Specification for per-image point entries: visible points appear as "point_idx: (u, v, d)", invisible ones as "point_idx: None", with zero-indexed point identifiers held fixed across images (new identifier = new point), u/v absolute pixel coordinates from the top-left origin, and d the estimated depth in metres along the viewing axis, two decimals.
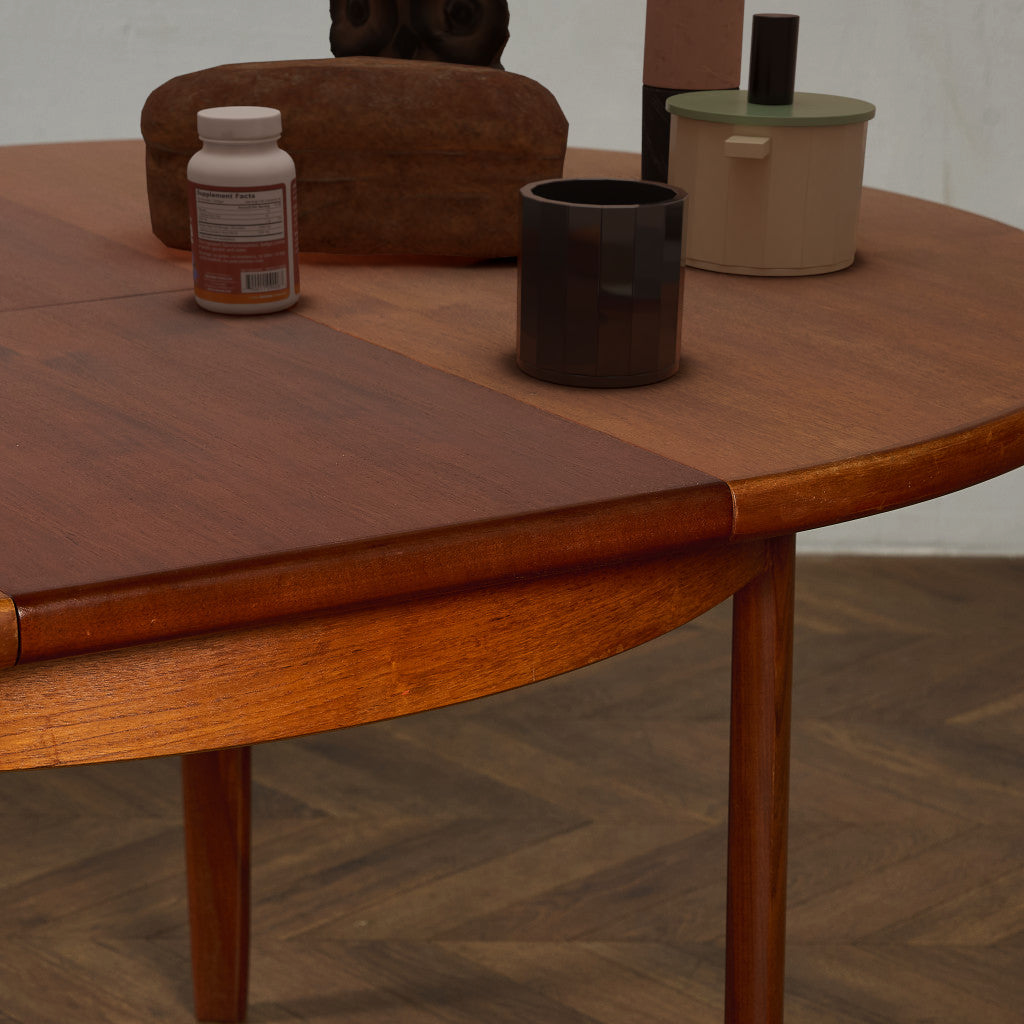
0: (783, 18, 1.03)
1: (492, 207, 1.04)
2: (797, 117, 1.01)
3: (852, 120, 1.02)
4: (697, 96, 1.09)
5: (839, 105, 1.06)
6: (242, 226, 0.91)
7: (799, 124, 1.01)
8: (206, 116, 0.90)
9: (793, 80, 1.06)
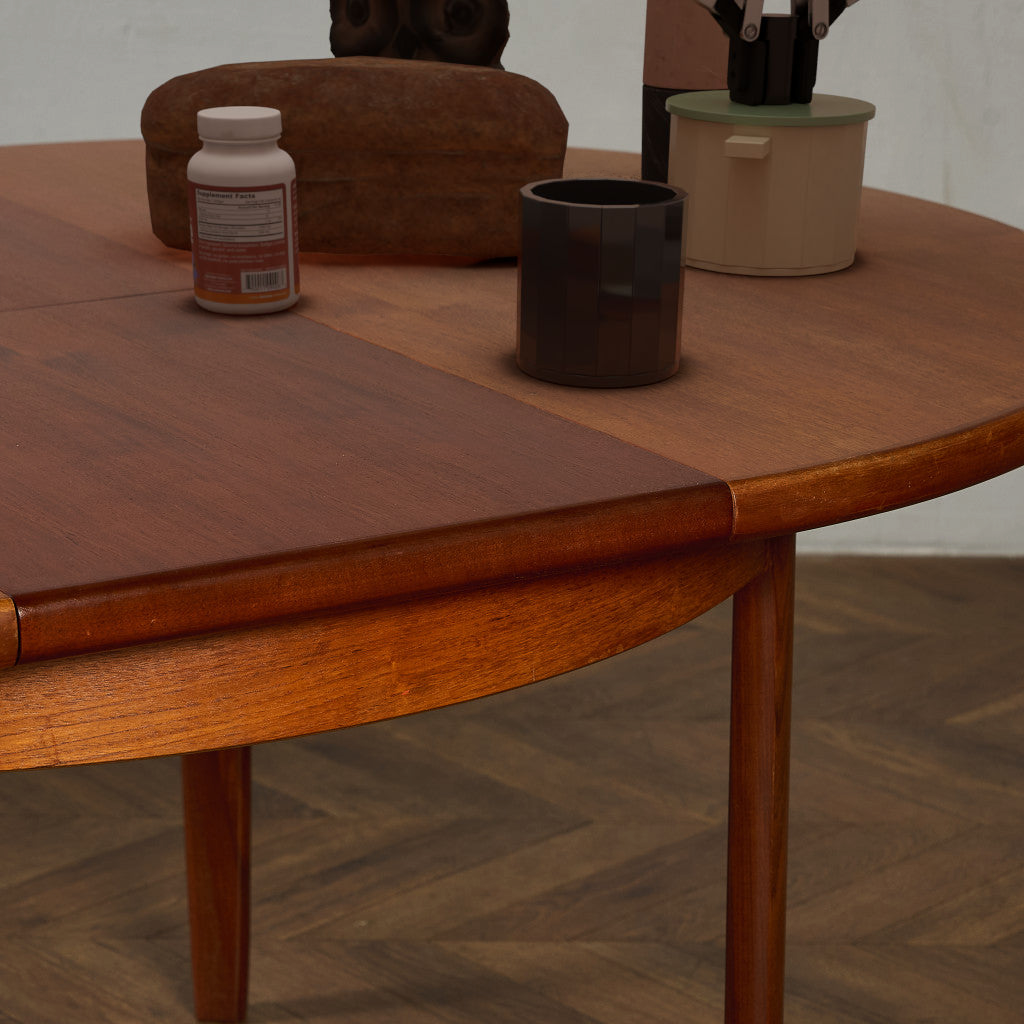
0: (783, 18, 1.03)
1: (492, 207, 1.04)
2: (797, 117, 1.01)
3: (852, 120, 1.02)
4: (697, 96, 1.09)
5: (839, 105, 1.06)
6: (242, 226, 0.91)
7: (799, 124, 1.01)
8: (206, 116, 0.90)
9: (793, 80, 1.06)
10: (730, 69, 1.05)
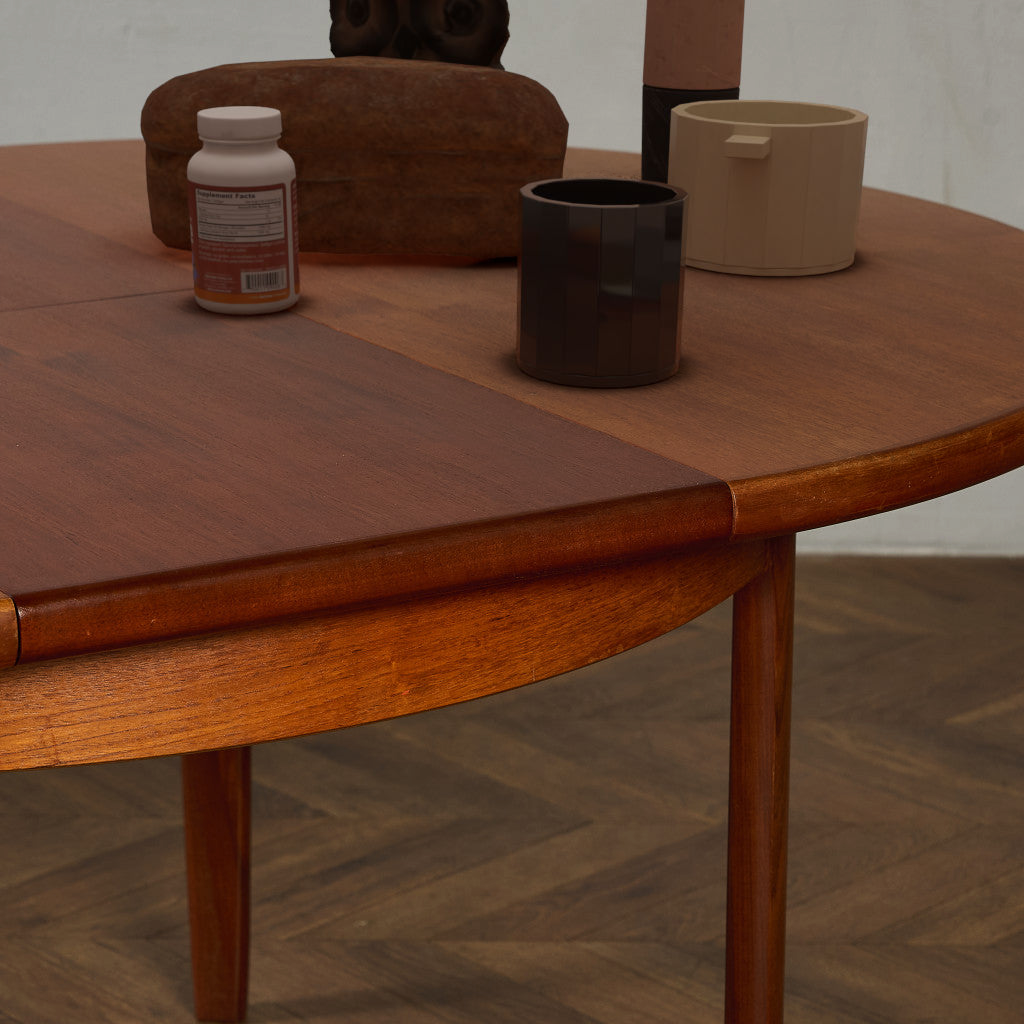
0: None
1: (492, 207, 1.04)
2: None
3: None
4: None
5: None
6: (242, 226, 0.91)
7: None
8: (206, 116, 0.90)
9: None
10: None
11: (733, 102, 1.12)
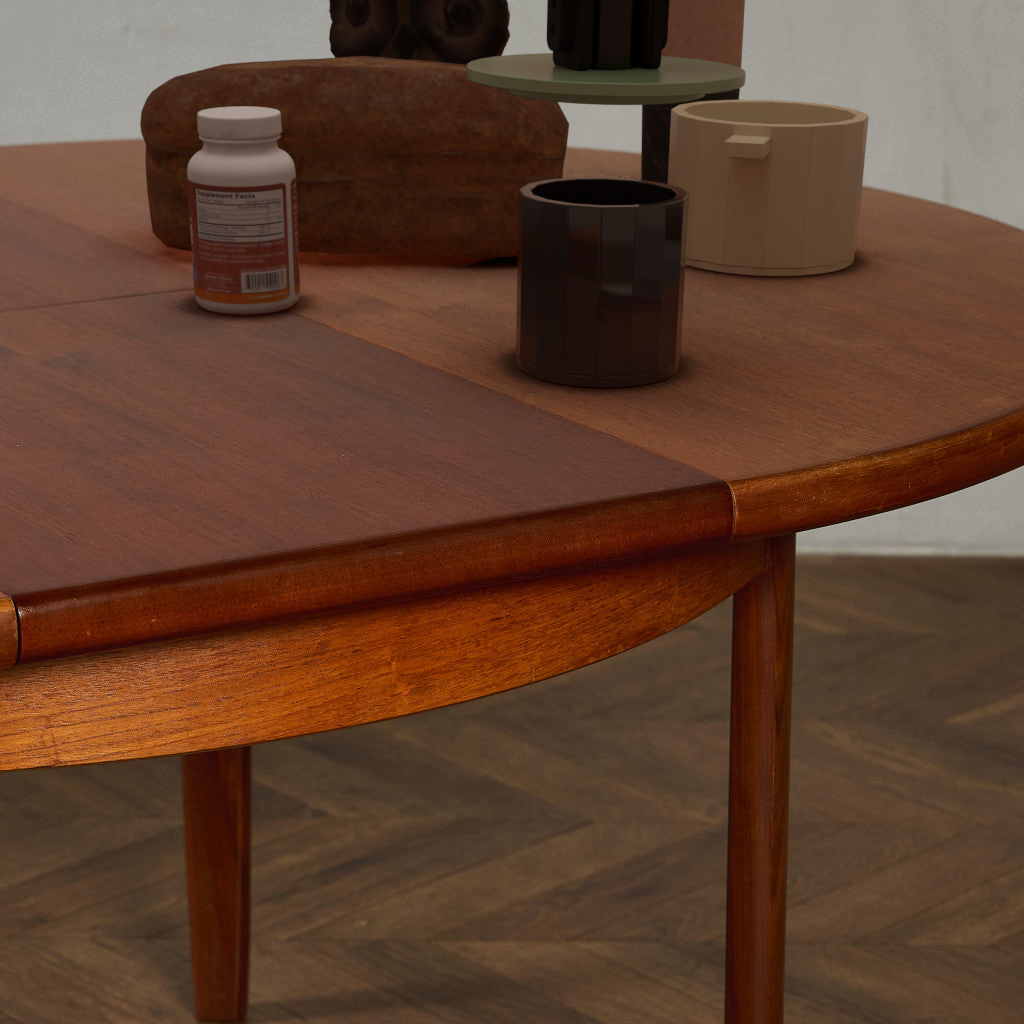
0: None
1: (492, 207, 1.04)
2: (629, 84, 0.73)
3: (707, 89, 0.75)
4: (513, 59, 0.82)
5: (697, 70, 0.79)
6: (242, 226, 0.91)
7: (632, 93, 0.74)
8: (206, 116, 0.90)
9: (634, 36, 0.78)
10: (549, 21, 0.78)
11: (733, 102, 1.12)
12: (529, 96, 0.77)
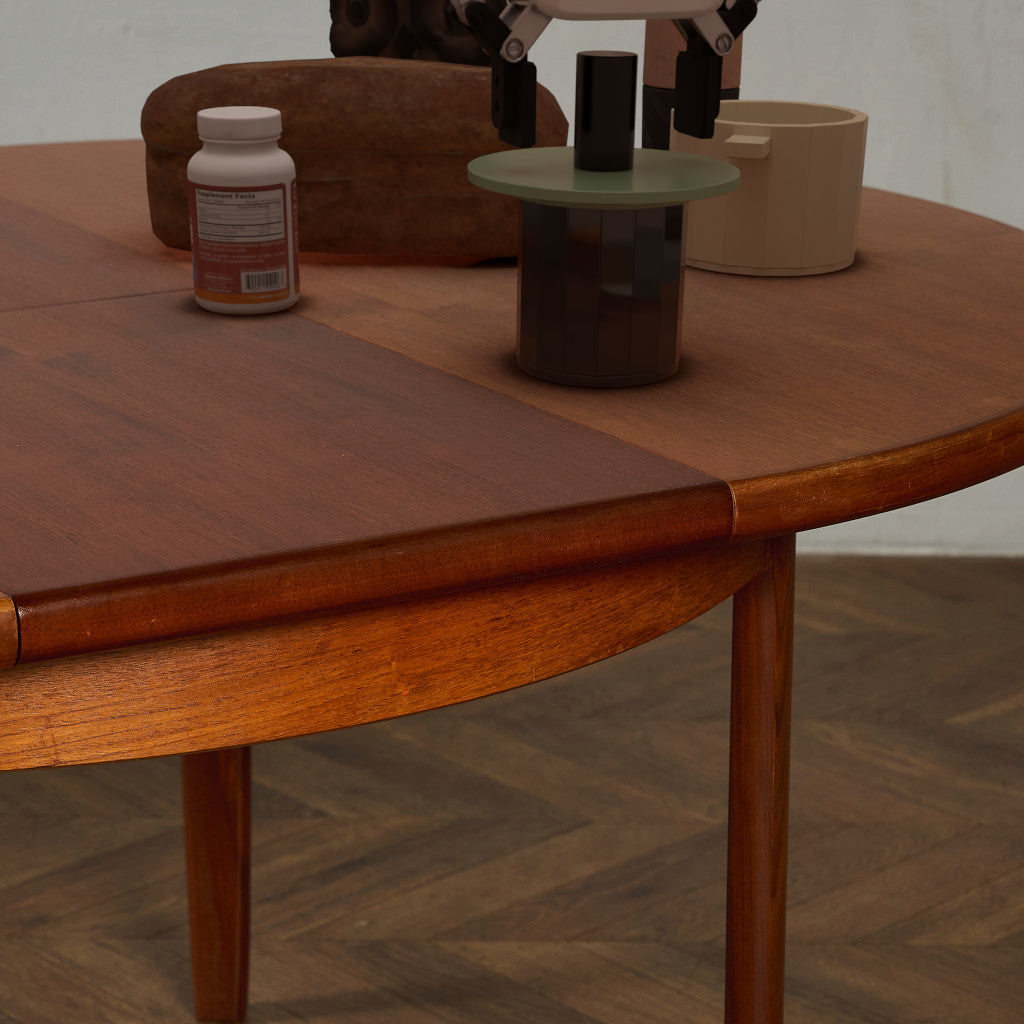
0: (614, 58, 0.78)
1: (492, 207, 1.04)
2: (626, 192, 0.75)
3: (702, 194, 0.77)
4: (513, 157, 0.84)
5: (692, 171, 0.81)
6: (242, 226, 0.91)
7: (629, 201, 0.75)
8: (206, 116, 0.90)
9: (631, 139, 0.80)
10: (494, 99, 0.78)
11: (733, 102, 1.12)
12: (529, 199, 0.79)
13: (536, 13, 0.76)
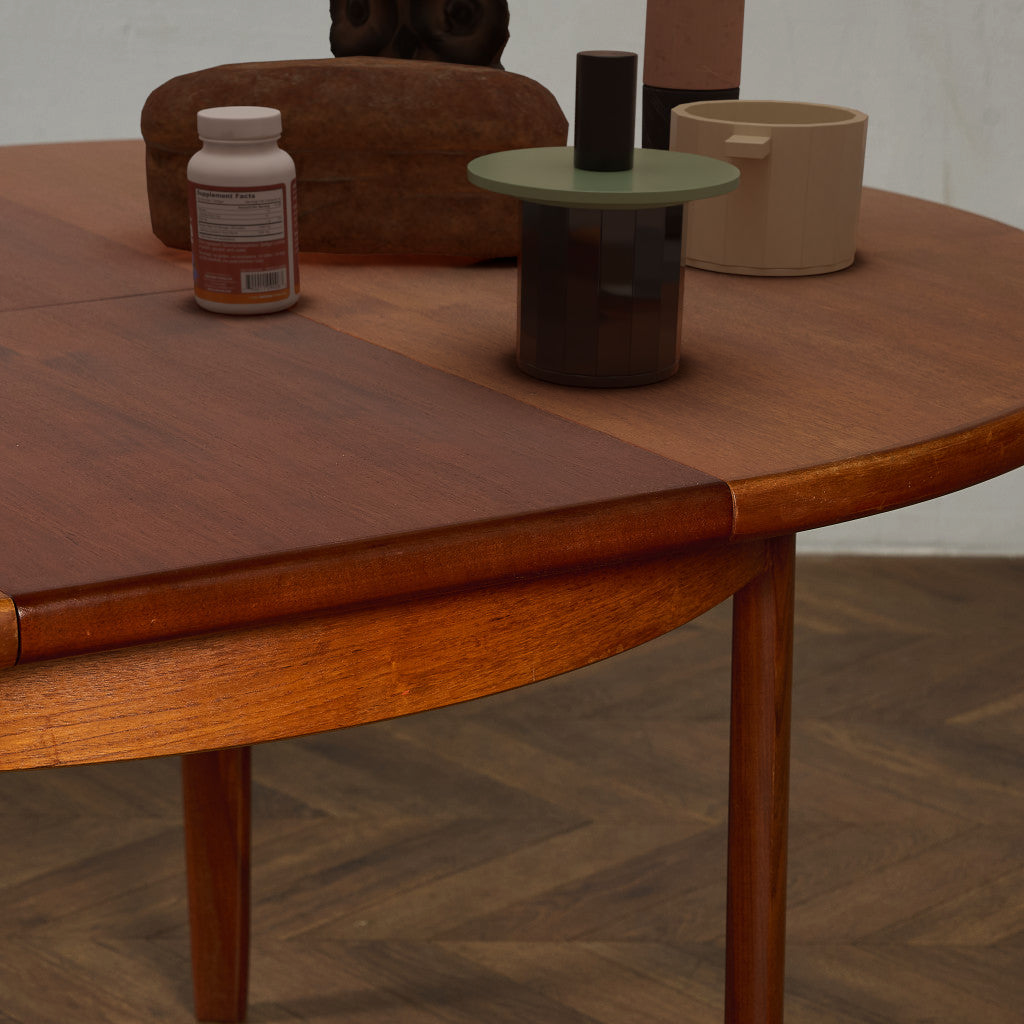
0: (614, 58, 0.78)
1: (492, 207, 1.04)
2: (626, 192, 0.75)
3: (702, 194, 0.77)
4: (513, 157, 0.84)
5: (692, 171, 0.81)
6: (242, 226, 0.91)
7: (629, 201, 0.75)
8: (206, 116, 0.90)
9: (631, 139, 0.80)
10: None
11: (733, 102, 1.12)
12: (529, 199, 0.79)
13: None
